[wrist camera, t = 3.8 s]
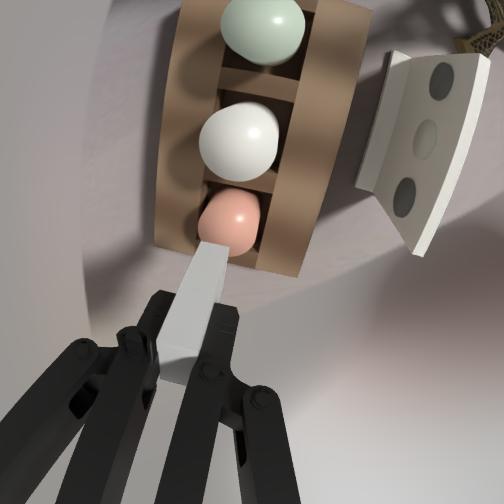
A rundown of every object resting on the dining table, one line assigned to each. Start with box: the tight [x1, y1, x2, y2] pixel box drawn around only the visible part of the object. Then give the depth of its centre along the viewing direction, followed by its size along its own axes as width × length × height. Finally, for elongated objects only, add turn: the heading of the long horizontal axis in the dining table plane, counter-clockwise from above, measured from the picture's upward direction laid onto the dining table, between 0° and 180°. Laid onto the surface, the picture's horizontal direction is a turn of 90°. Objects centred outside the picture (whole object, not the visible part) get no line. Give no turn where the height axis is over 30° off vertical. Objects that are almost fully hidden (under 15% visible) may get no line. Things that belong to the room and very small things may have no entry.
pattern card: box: [354, 50, 491, 257], centre depth 16 cm, size 12×4×10 cm, turn 169°
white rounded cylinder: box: [199, 101, 279, 182], centre depth 16 cm, size 4×4×5 cm
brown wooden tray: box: [154, 0, 373, 278], centre depth 20 cm, size 21×12×4 cm, turn 169°
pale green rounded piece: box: [221, 0, 305, 67], centre depth 13 cm, size 4×4×5 cm
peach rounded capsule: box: [198, 183, 262, 257], centre depth 22 cm, size 4×4×5 cm
